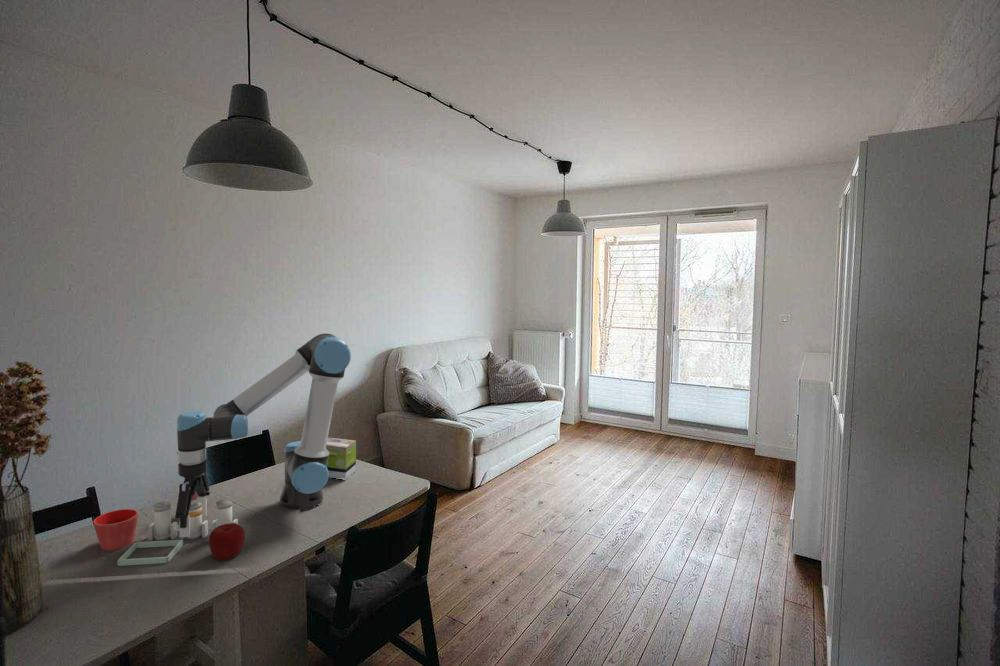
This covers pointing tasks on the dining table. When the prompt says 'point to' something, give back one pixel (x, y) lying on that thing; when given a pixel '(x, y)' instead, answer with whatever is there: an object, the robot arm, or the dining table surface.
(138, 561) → the tray
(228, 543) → the apple
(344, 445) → the tea box
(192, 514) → the cylinder
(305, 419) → the robot arm
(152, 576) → the dining table surface
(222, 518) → the white rounded cylinder
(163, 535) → the fuse
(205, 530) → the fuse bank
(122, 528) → the flower pot
